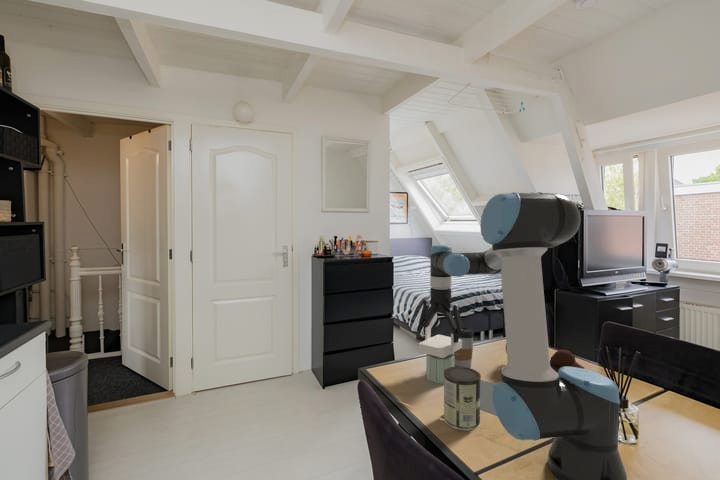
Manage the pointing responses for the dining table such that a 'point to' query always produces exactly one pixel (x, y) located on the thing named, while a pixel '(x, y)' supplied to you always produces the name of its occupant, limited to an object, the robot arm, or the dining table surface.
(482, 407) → the mat
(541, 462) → the dining table surface
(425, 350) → the lid
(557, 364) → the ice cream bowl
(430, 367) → the ribbed green pot
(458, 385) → the coffee can
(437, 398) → the dining table surface
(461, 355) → the coffee cup
